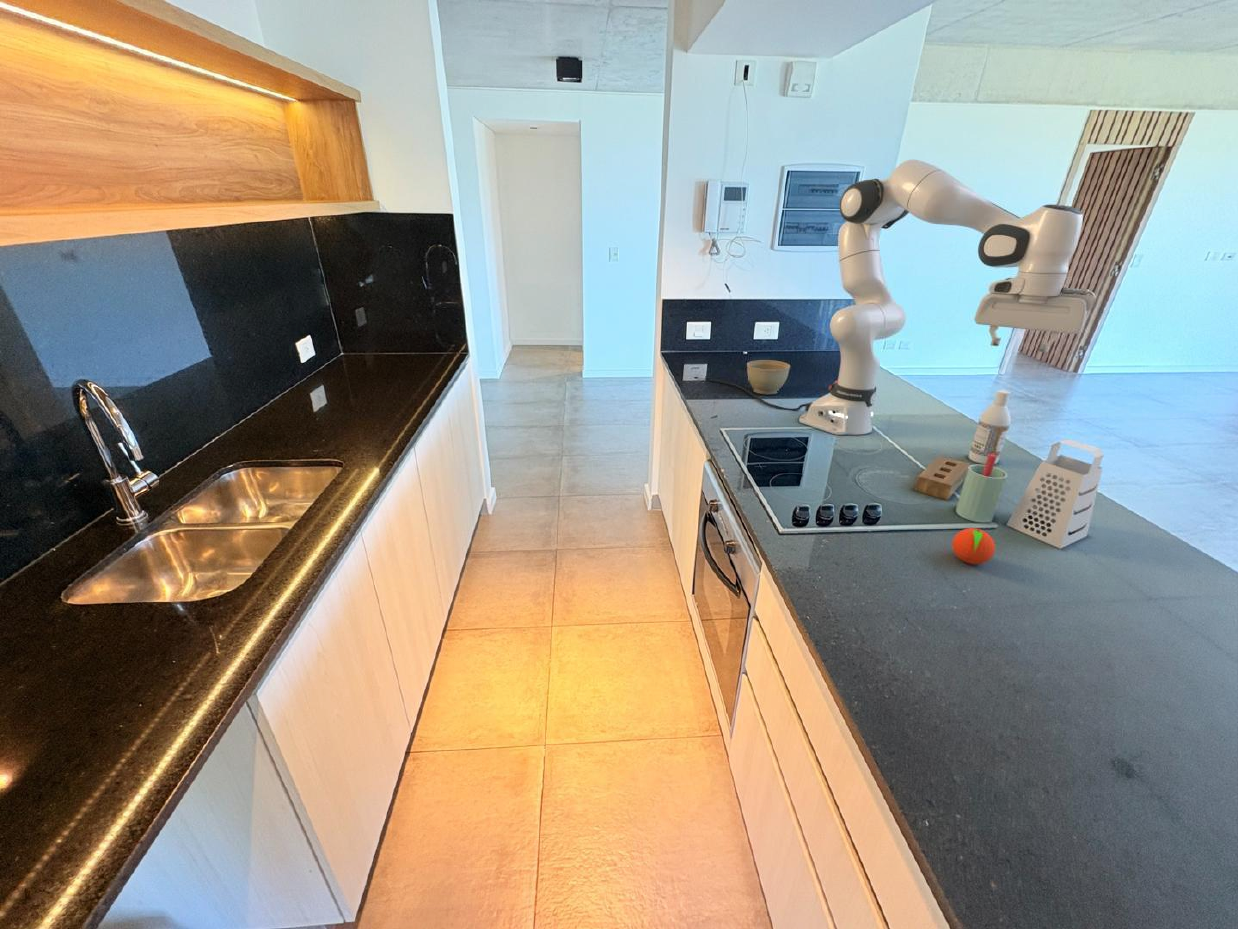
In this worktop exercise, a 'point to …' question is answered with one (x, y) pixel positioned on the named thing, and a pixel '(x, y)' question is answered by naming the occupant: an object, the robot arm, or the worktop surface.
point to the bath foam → (991, 430)
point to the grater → (1060, 496)
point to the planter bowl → (767, 375)
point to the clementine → (973, 546)
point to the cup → (980, 494)
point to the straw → (989, 465)
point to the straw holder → (942, 477)
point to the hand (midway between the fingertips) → (1018, 348)
